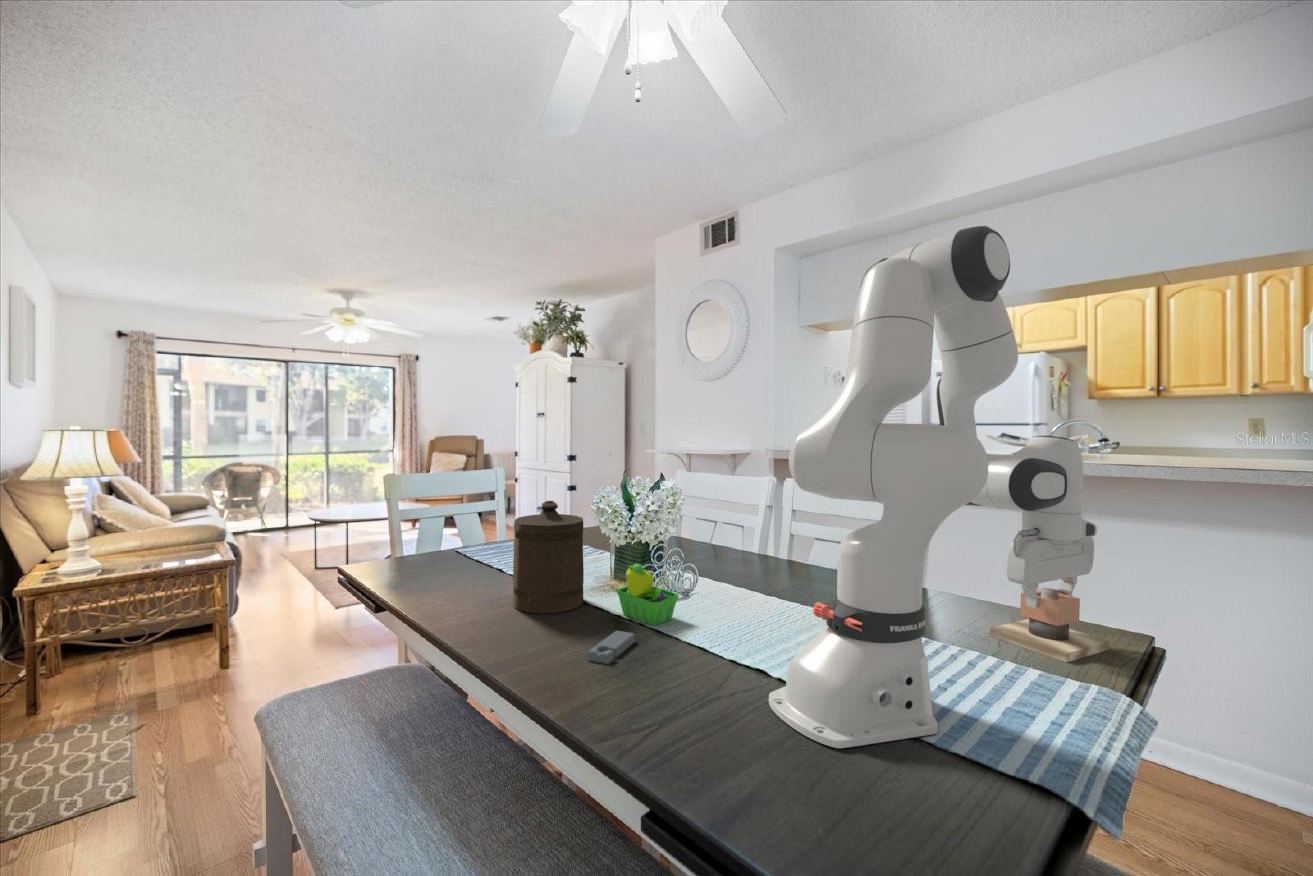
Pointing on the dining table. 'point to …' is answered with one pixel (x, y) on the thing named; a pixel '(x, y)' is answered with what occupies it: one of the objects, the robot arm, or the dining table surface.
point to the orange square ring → (1053, 609)
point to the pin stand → (1050, 637)
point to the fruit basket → (645, 597)
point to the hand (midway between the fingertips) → (1049, 603)
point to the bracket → (611, 647)
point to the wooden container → (548, 562)
